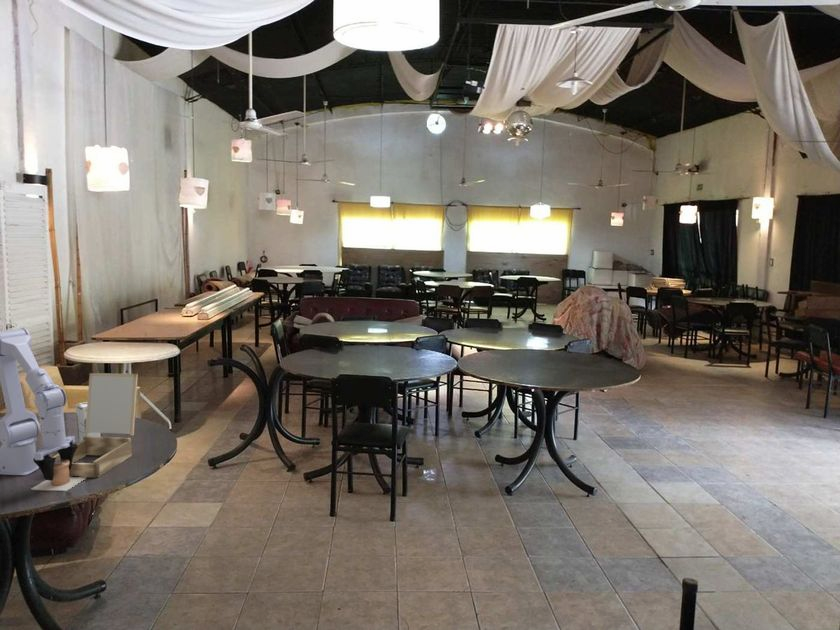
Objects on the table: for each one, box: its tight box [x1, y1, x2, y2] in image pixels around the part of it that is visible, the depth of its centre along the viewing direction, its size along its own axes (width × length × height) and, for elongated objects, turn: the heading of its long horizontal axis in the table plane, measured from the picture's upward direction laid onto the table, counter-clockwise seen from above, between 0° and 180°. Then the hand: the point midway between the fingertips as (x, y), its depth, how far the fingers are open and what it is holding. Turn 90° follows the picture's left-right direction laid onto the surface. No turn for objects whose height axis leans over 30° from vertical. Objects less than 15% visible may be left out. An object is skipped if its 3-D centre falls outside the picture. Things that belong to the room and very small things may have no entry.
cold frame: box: [52, 436, 133, 478], centre depth 199 cm, size 16×18×6 cm
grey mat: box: [30, 476, 87, 492], centre depth 185 cm, size 11×9×1 cm
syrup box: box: [75, 401, 103, 443], centre depth 217 cm, size 6×6×14 cm
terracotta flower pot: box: [51, 460, 71, 486], centre depth 185 cm, size 6×6×6 cm
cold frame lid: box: [85, 372, 139, 436], centre depth 209 cm, size 17×20×1 cm
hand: (58, 474), depth 185 cm, fingers open, 7 cm apart
